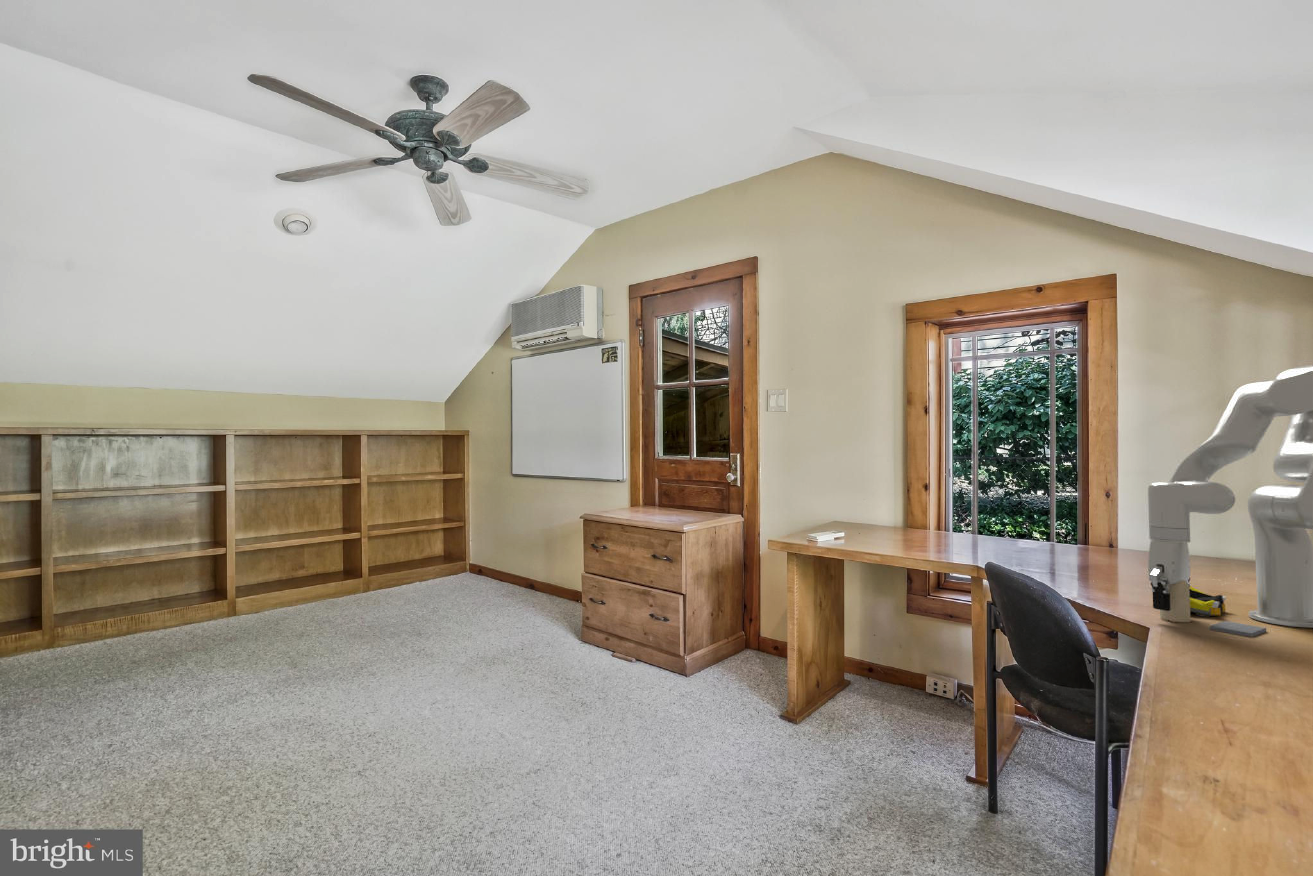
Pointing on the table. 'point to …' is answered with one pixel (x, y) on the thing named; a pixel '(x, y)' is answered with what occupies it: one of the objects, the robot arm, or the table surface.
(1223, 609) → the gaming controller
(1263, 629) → the grey flat block
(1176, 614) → the candle
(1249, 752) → the table surface
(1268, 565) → the robot arm
